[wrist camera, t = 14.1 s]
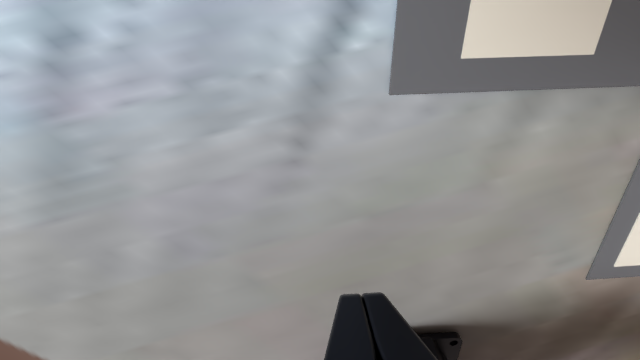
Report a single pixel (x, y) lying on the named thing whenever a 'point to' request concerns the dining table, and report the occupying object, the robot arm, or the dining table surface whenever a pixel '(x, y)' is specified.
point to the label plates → (528, 69)
